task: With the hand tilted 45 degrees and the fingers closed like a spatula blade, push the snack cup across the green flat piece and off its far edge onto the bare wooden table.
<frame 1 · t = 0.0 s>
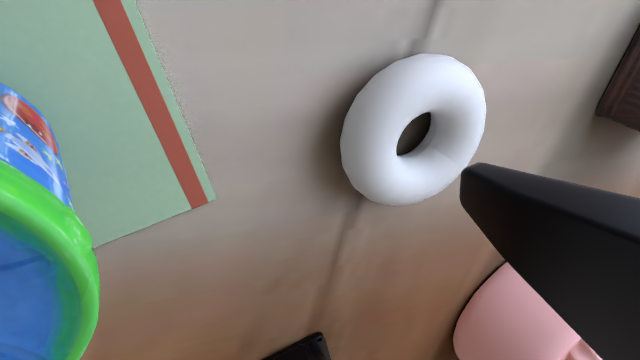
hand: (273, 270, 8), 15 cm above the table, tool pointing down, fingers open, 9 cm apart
cake: (518, 298, 49), on the table
donut: (397, 122, 27), on the table
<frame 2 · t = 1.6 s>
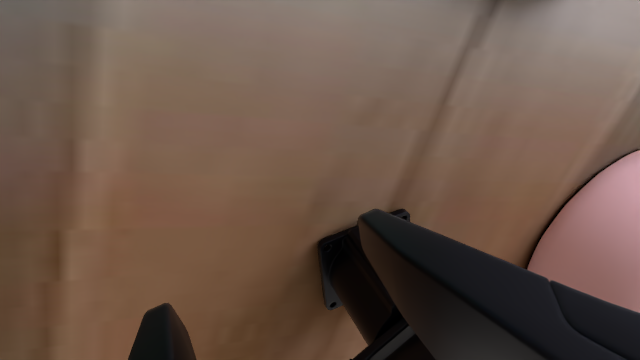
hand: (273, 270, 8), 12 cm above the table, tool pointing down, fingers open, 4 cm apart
cake: (597, 229, 42), on the table
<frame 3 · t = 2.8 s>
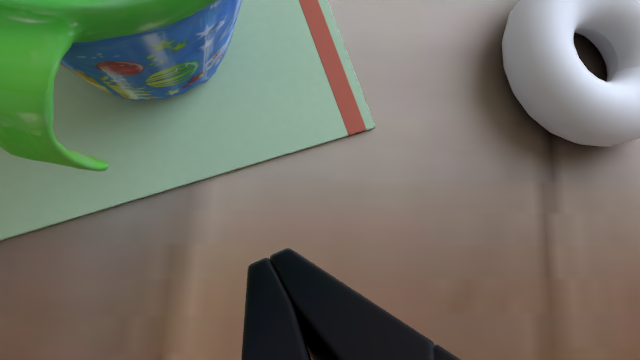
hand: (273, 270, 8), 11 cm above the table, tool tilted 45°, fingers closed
snack cup: (150, 34, 20), resting on green flat piece
donut: (565, 71, 24), on the table
green flat piece: (90, 67, 19), on the table
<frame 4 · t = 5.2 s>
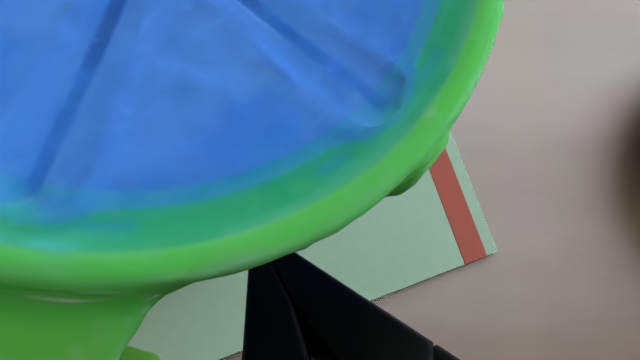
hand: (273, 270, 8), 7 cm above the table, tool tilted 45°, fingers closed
snack cup: (208, 125, 15), resting on green flat piece, touching gripper
green flat piece: (135, 183, 14), on the table
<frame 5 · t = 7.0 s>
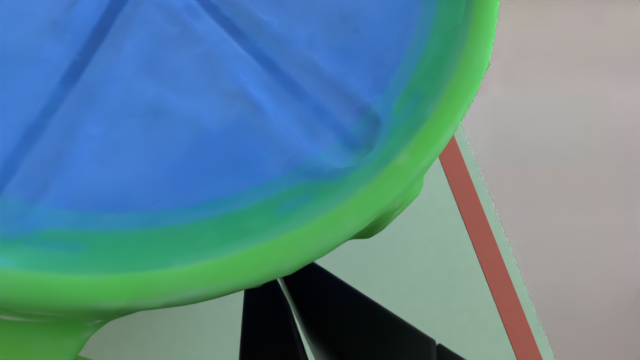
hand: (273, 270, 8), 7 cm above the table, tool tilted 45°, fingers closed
snack cup: (211, 144, 15), on the table, touching gripper, green flat piece
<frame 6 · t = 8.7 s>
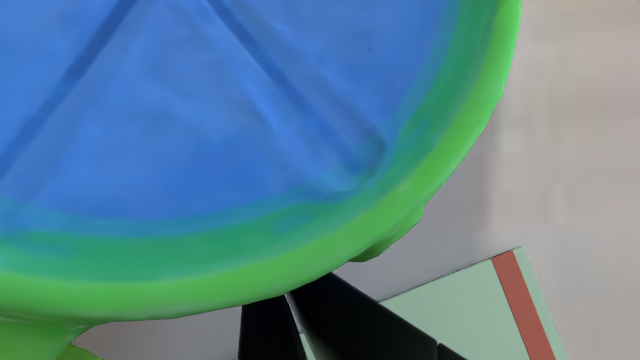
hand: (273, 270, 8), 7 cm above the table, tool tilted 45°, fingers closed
snack cup: (214, 136, 15), on the table, touching gripper
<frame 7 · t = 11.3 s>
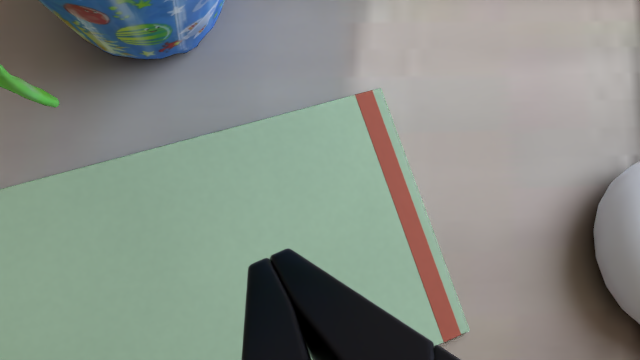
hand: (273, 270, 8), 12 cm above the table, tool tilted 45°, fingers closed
green flat piece: (187, 287, 18), on the table
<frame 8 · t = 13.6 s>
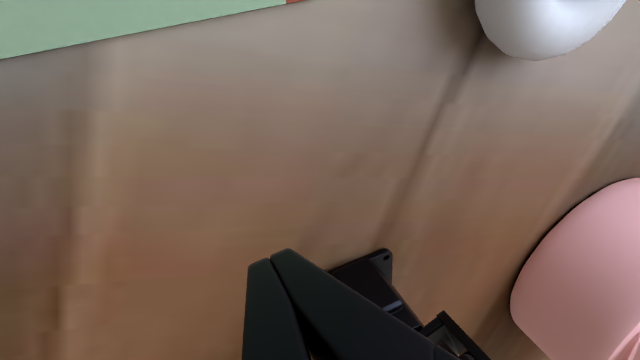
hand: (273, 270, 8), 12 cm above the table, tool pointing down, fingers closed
cake: (580, 254, 43), on the table
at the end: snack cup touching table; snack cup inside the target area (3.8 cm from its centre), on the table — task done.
